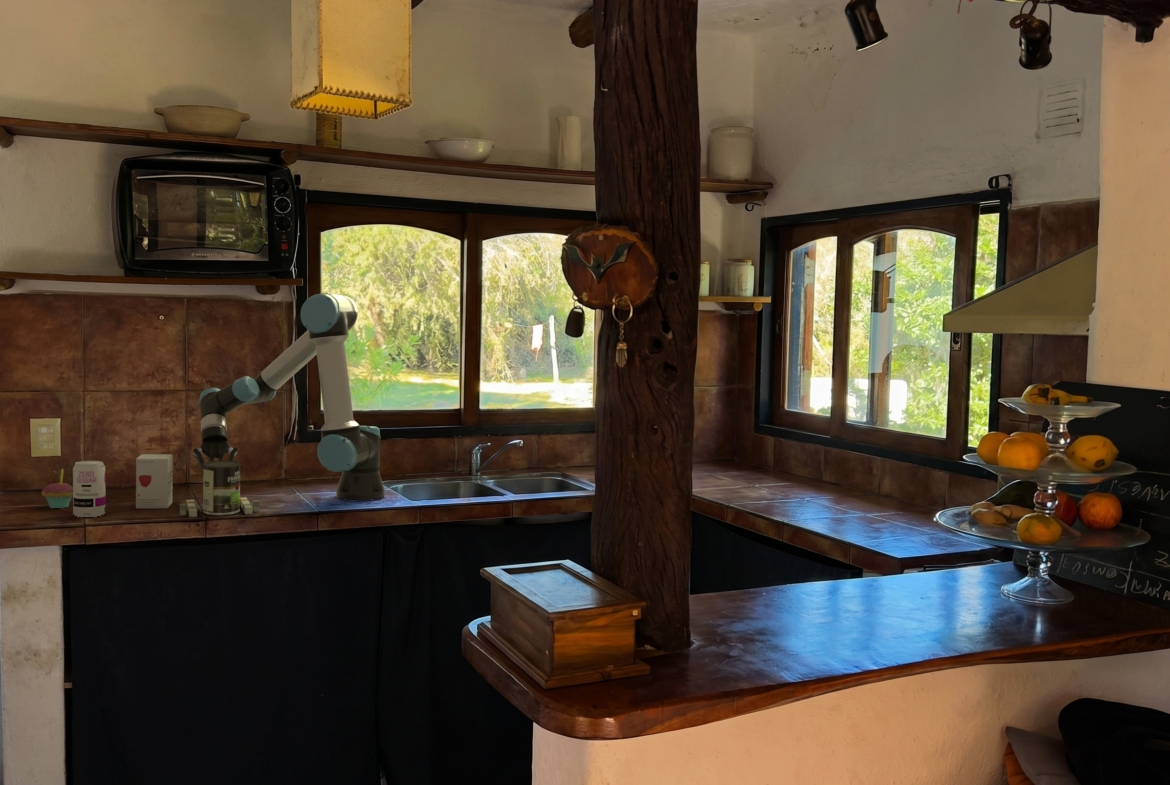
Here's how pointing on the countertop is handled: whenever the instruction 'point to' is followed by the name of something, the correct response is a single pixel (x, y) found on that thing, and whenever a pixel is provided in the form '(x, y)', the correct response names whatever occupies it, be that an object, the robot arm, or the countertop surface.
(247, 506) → the slot track
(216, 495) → the coffee can
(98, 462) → the supplement can
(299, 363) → the robot arm
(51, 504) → the cupcake
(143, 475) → the supplement box
